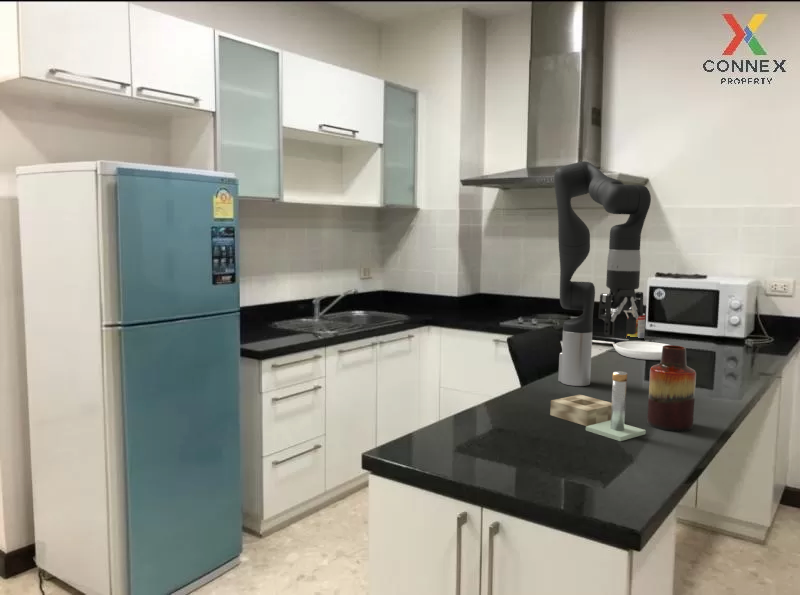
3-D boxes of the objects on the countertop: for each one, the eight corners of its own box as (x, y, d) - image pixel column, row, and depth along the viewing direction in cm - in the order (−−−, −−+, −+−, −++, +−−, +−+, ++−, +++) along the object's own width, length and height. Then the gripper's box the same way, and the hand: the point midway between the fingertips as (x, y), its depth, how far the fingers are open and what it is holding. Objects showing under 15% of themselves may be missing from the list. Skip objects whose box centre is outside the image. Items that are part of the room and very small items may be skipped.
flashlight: (614, 431, 155) (617, 374, 154) (607, 427, 159) (609, 371, 157) (627, 430, 156) (630, 373, 155) (619, 426, 160) (622, 370, 158)
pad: (585, 430, 159) (585, 426, 159) (610, 423, 165) (610, 420, 165) (620, 441, 151) (620, 437, 151) (645, 434, 157) (645, 430, 157)
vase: (652, 430, 160) (657, 349, 158) (642, 418, 171) (646, 342, 169) (698, 432, 159) (703, 351, 157) (685, 420, 169) (690, 344, 167)
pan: (675, 364, 244) (676, 353, 244) (573, 353, 264) (573, 343, 263) (683, 354, 266) (684, 344, 265) (588, 345, 285) (588, 335, 285)
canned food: (632, 337, 309) (633, 312, 308) (647, 339, 303) (648, 314, 302) (623, 338, 304) (624, 313, 303) (638, 340, 298) (639, 315, 297)
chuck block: (550, 415, 172) (550, 400, 172) (579, 408, 179) (579, 394, 179) (586, 426, 162) (587, 410, 162) (616, 419, 169) (616, 404, 169)
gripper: (618, 270, 147) (615, 340, 149) (654, 268, 155) (651, 335, 157) (591, 268, 153) (588, 335, 155) (627, 267, 161) (624, 331, 163)
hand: (620, 335), depth 156 cm, fingers open, 8 cm apart
